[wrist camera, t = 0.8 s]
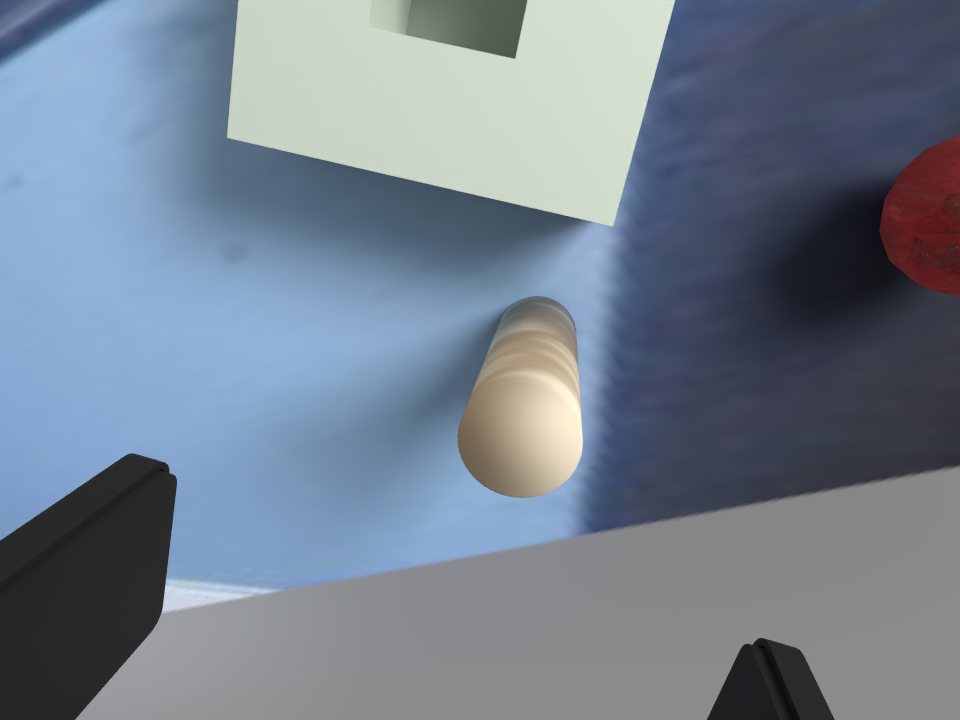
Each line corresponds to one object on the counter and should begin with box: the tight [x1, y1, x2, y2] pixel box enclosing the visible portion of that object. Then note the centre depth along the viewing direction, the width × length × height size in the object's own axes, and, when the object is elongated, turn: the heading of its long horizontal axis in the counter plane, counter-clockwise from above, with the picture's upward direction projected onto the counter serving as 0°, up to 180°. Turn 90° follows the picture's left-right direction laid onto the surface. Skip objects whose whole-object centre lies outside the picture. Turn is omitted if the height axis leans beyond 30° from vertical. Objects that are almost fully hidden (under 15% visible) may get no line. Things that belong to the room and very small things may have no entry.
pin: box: [458, 296, 583, 498], centre depth 25 cm, size 4×4×12 cm
